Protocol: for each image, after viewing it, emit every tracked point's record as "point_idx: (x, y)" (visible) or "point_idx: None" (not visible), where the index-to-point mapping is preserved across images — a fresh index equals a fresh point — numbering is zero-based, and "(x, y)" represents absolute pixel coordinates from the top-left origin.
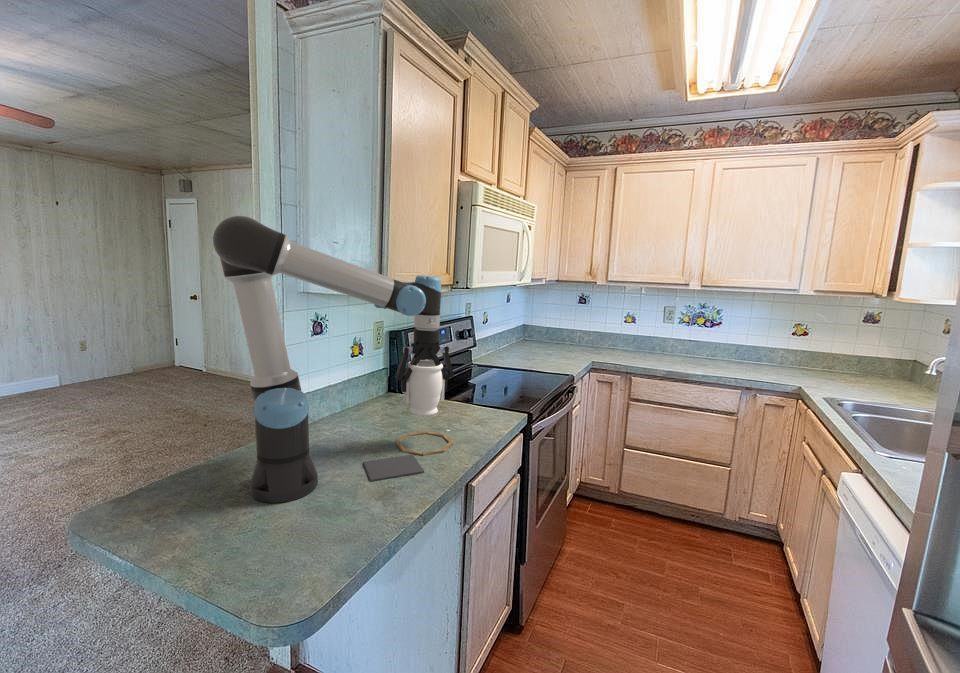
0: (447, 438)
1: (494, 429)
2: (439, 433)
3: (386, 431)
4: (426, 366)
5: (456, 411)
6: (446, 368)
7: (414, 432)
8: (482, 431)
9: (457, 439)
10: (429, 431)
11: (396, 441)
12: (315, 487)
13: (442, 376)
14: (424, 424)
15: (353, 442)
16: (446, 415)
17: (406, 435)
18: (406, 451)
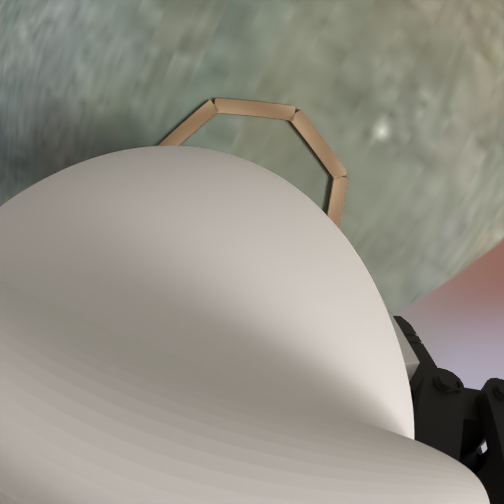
0: (333, 213)
1: (494, 212)
2: (331, 155)
3: (158, 43)
4: (269, 330)
5: (471, 10)
6: (494, 456)
7: (243, 100)
8: (464, 206)
9: (365, 223)
10: (304, 118)
11: None
12: None
13: (415, 395)
14: (322, 33)
15: (50, 109)
16: (432, 12)
17: (203, 116)
18: None
